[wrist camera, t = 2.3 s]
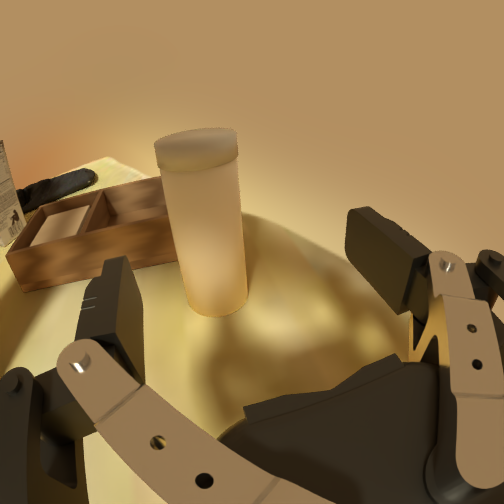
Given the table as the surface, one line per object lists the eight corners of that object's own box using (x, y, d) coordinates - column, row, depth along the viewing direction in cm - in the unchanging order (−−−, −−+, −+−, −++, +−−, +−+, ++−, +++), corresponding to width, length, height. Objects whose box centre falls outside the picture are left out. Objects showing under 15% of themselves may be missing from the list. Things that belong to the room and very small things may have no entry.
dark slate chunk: (96, 192, 52) (90, 169, 50) (1, 226, 45) (-7, 205, 42) (96, 172, 64) (92, 153, 61) (17, 200, 56) (11, 182, 53)
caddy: (23, 292, 27) (5, 255, 24) (50, 236, 38) (40, 206, 35) (187, 258, 31) (178, 214, 28) (178, 207, 42) (173, 173, 39)
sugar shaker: (190, 323, 24) (152, 153, 16) (184, 282, 28) (155, 136, 20) (256, 309, 25) (245, 138, 17) (240, 270, 29) (227, 124, 21)
